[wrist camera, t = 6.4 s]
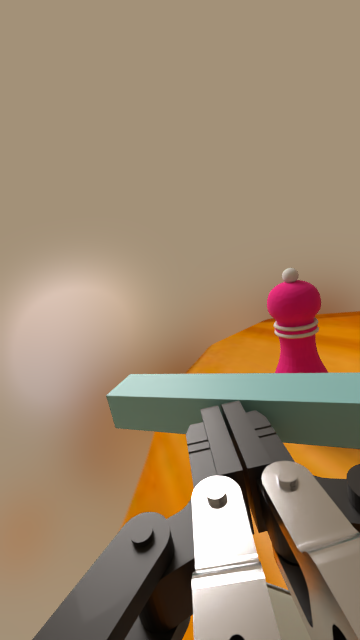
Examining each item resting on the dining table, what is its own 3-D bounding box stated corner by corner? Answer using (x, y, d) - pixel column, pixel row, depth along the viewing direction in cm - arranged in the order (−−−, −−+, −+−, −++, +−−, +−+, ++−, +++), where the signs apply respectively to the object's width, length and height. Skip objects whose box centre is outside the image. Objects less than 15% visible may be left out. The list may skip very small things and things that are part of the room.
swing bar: (763, 419, 8) (782, 361, 8) (996, 521, 6) (1047, 440, 5) (142, 398, 17) (134, 370, 16) (109, 434, 14) (99, 401, 14)
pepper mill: (296, 442, 35) (276, 276, 30) (267, 411, 42) (247, 273, 37) (349, 425, 36) (339, 262, 31) (313, 397, 43) (299, 261, 38)
